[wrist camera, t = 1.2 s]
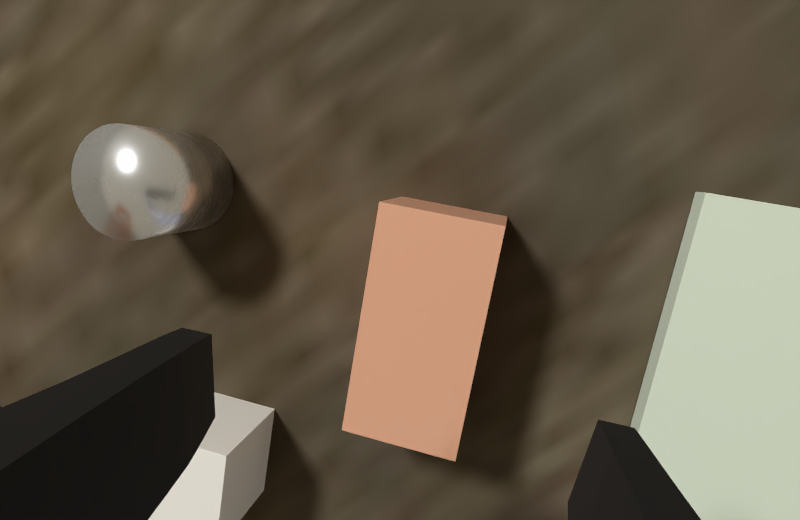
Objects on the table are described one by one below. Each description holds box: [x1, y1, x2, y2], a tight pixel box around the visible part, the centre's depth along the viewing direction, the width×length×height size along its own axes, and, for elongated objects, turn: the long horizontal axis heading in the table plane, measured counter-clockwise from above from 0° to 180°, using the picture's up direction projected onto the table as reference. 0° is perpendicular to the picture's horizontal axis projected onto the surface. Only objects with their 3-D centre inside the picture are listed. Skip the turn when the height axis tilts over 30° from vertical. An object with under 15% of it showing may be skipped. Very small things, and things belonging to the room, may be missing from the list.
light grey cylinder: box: [71, 123, 234, 241], centre depth 20 cm, size 4×4×4 cm
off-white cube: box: [148, 392, 275, 520], centre depth 22 cm, size 4×4×4 cm
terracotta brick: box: [342, 197, 507, 461], centre depth 19 cm, size 8×4×4 cm, turn 170°
